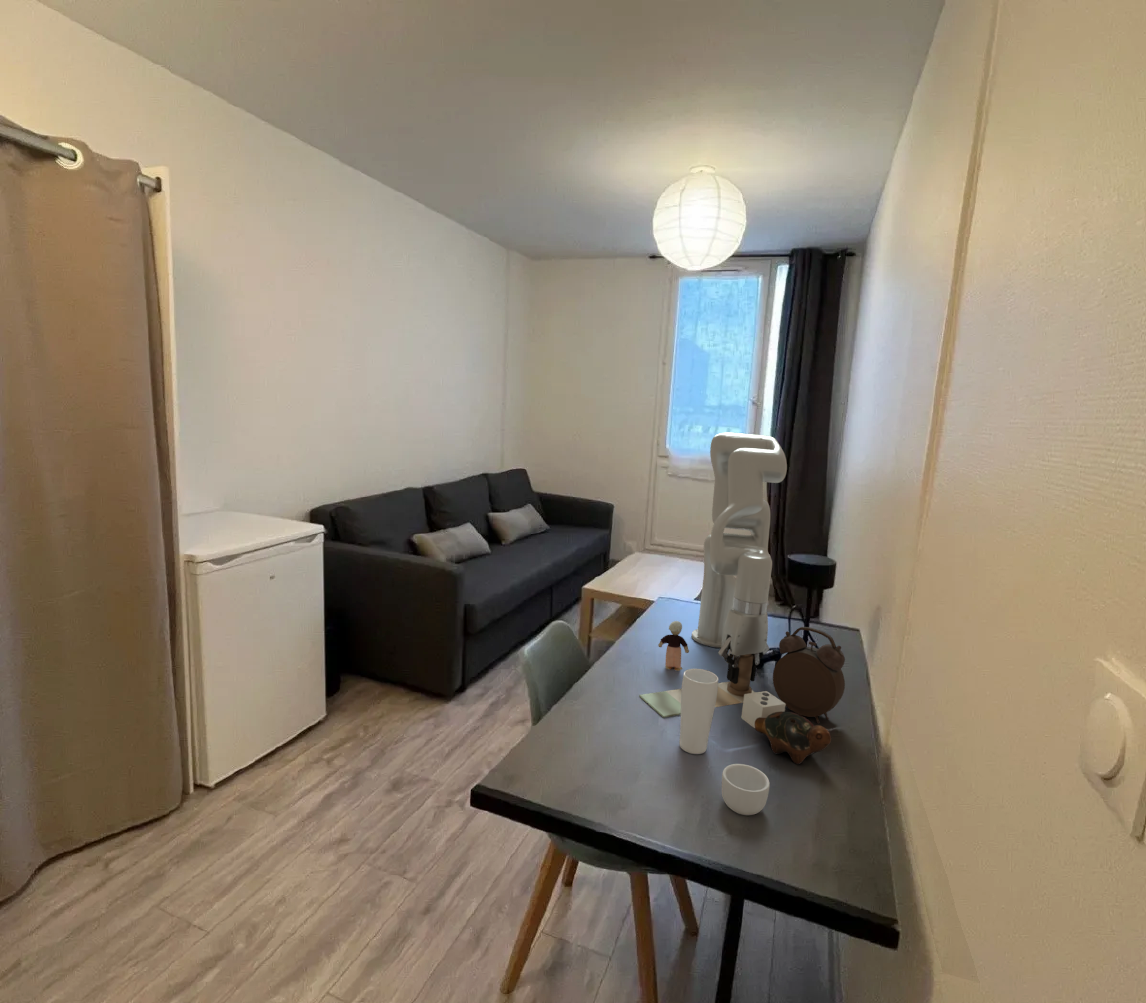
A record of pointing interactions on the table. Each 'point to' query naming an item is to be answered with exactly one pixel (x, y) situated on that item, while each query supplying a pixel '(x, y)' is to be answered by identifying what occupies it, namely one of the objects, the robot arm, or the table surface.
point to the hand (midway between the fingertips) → (740, 679)
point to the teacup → (744, 788)
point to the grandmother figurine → (674, 646)
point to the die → (760, 706)
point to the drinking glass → (697, 709)
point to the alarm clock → (809, 675)
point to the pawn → (742, 677)
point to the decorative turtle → (793, 735)
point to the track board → (671, 700)
